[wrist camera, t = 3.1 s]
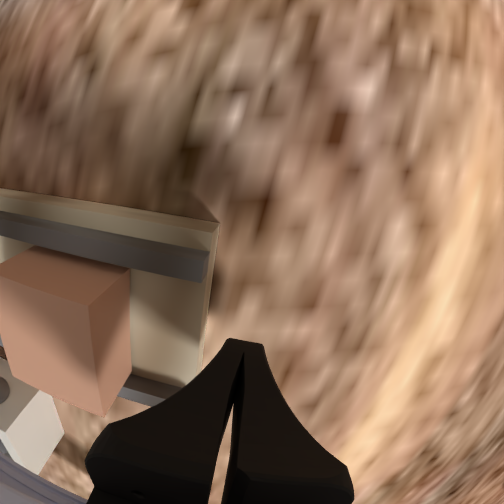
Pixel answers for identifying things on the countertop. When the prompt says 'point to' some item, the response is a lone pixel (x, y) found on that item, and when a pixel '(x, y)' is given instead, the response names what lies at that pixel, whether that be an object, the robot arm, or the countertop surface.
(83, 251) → the rail bed
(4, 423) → the gauge cabinet
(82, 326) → the block
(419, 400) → the countertop surface
